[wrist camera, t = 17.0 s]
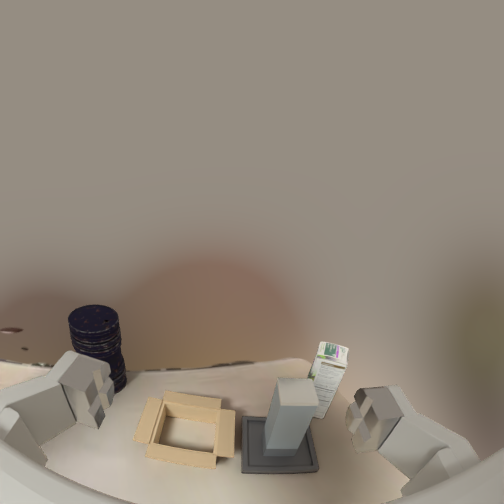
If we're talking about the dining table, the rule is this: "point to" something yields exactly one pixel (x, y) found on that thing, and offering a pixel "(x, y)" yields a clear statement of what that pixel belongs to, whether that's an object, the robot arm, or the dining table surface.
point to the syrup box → (327, 373)
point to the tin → (289, 416)
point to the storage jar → (99, 339)
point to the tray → (274, 464)
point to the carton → (190, 410)
